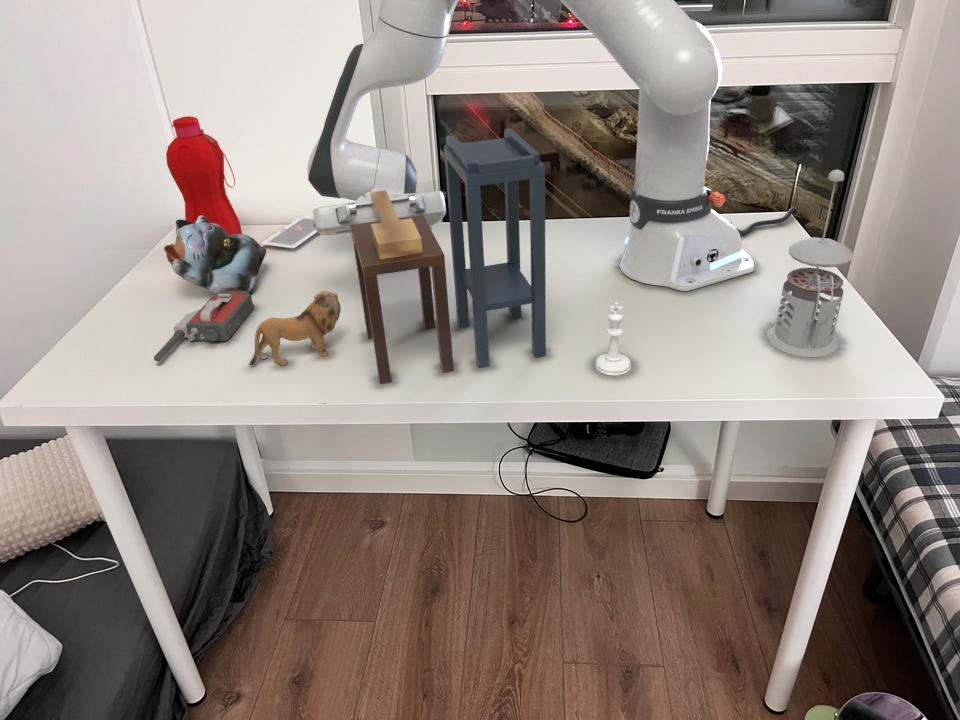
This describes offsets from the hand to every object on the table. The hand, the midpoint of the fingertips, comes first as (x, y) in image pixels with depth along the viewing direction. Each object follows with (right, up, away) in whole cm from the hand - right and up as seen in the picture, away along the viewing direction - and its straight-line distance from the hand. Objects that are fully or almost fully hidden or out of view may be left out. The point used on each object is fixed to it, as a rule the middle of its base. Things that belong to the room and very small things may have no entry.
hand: (383, 204), depth 110 cm
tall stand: (+17, -20, +3) cm, 26 cm away
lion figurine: (-12, -22, +3) cm, 25 cm away
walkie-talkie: (-29, -19, +9) cm, 36 cm away
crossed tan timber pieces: (+2, -4, -5) cm, 6 cm away
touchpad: (-22, +2, +41) cm, 47 cm away
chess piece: (+33, -24, -4) cm, 41 cm away
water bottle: (-36, -1, +38) cm, 53 cm away
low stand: (+4, -21, +2) cm, 22 cm away
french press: (+61, -20, -2) cm, 64 cm away
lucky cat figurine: (-31, -10, +24) cm, 40 cm away
